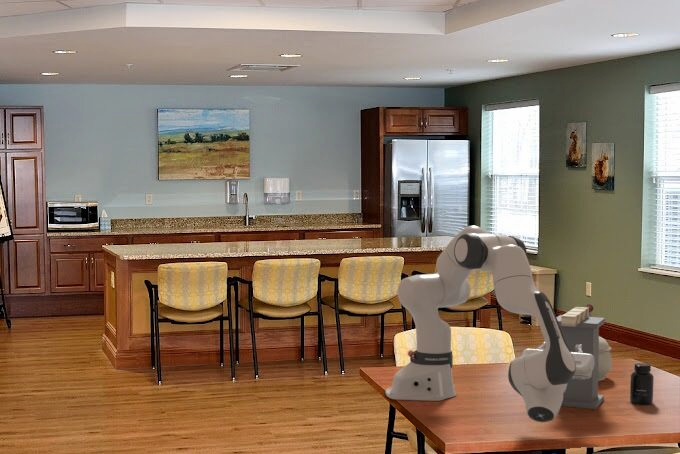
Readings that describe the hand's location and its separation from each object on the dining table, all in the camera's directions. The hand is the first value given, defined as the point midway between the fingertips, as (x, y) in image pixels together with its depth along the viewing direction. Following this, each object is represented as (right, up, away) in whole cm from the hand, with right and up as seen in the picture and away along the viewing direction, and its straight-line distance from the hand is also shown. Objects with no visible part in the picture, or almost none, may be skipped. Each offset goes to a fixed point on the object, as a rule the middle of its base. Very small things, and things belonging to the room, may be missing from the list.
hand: (562, 344), depth 285 cm
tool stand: (+9, -20, +21) cm, 31 cm away
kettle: (+21, -18, +58) cm, 65 cm away
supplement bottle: (+29, -21, +21) cm, 41 cm away
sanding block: (+7, +5, +15) cm, 18 cm away
